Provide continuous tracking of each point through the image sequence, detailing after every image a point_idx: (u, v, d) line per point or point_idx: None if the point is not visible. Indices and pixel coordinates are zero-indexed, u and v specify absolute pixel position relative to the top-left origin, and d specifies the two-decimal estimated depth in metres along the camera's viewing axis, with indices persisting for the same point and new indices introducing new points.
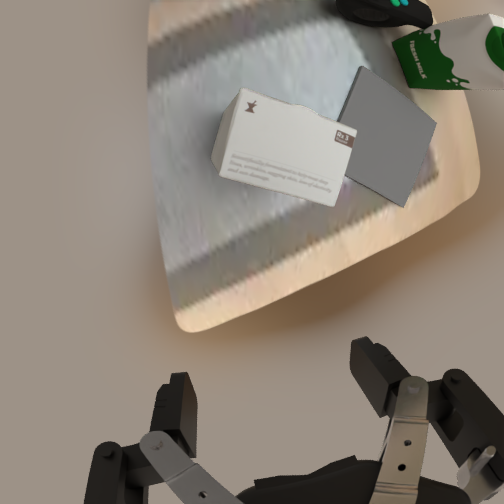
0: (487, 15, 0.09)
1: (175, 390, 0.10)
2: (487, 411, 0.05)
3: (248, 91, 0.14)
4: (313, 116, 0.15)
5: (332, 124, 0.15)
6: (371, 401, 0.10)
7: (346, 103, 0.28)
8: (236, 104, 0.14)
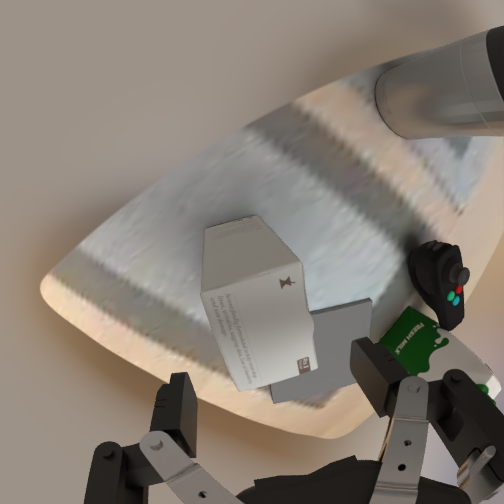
0: (490, 374, 0.17)
1: (175, 390, 0.10)
2: (487, 411, 0.05)
3: (301, 270, 0.14)
4: (308, 334, 0.16)
5: (310, 350, 0.16)
6: (371, 401, 0.10)
7: (329, 310, 0.32)
8: (281, 267, 0.14)
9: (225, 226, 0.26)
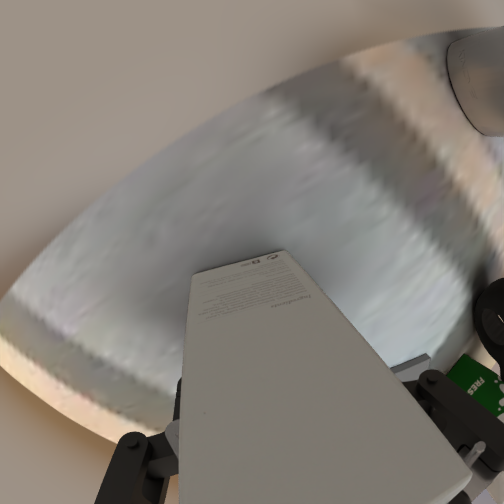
0: None
1: None
2: (470, 408, 0.06)
3: (462, 488, 0.02)
4: None
5: None
6: None
7: None
8: None
9: (229, 276, 0.14)
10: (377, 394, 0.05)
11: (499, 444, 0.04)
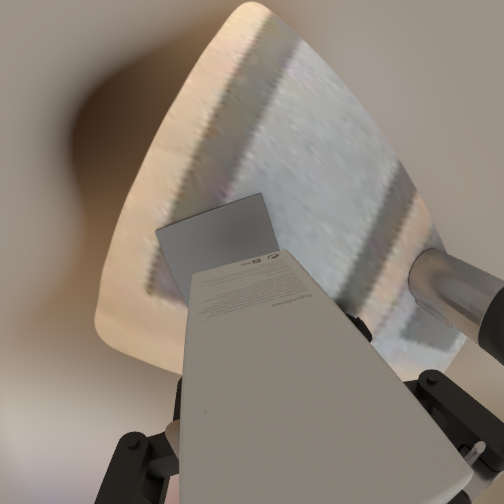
0: None
1: None
2: (470, 408, 0.06)
3: (463, 486, 0.02)
4: None
5: None
6: None
7: None
8: None
9: (229, 275, 0.14)
10: (378, 393, 0.05)
11: (499, 444, 0.04)
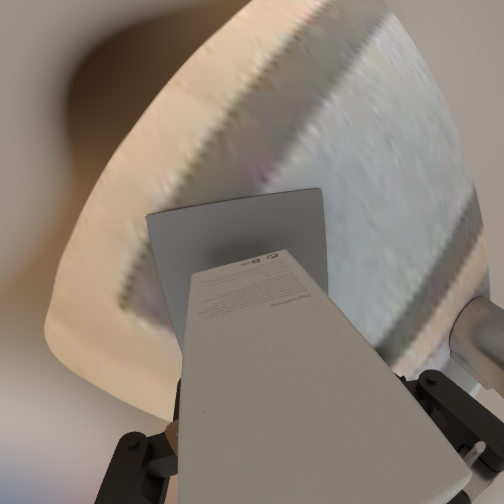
0: None
1: None
2: (470, 408, 0.06)
3: (462, 487, 0.02)
4: None
5: None
6: None
7: None
8: None
9: (228, 275, 0.14)
10: (377, 393, 0.05)
11: (499, 444, 0.04)
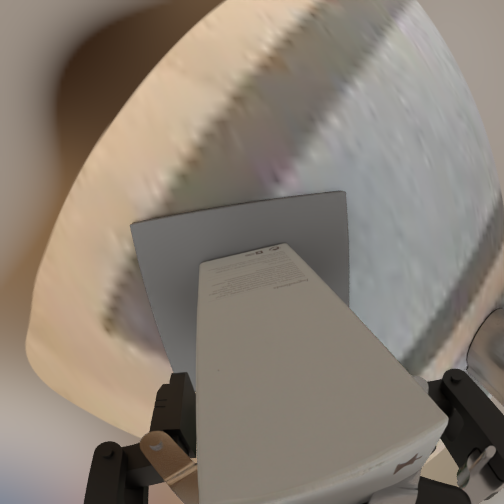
0: None
1: (175, 390, 0.10)
2: (487, 411, 0.05)
3: (441, 434, 0.04)
4: None
5: None
6: None
7: None
8: (409, 443, 0.04)
9: (234, 264, 0.15)
10: (364, 353, 0.07)
11: None
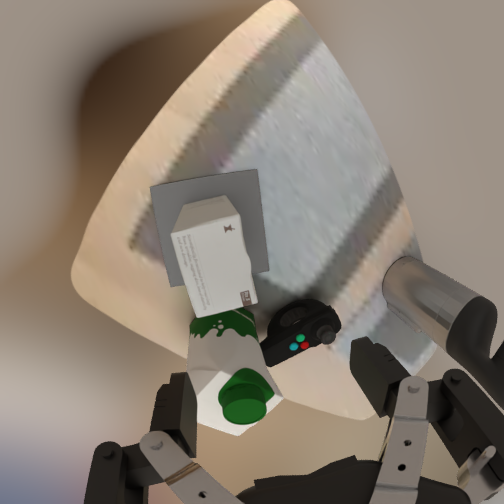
0: (282, 395, 0.25)
1: (175, 390, 0.10)
2: (487, 411, 0.05)
3: (238, 220, 0.21)
4: (246, 270, 0.23)
5: (250, 285, 0.23)
6: (371, 401, 0.10)
7: None
8: (225, 217, 0.21)
9: (198, 202, 0.33)
10: (226, 209, 0.24)
11: None
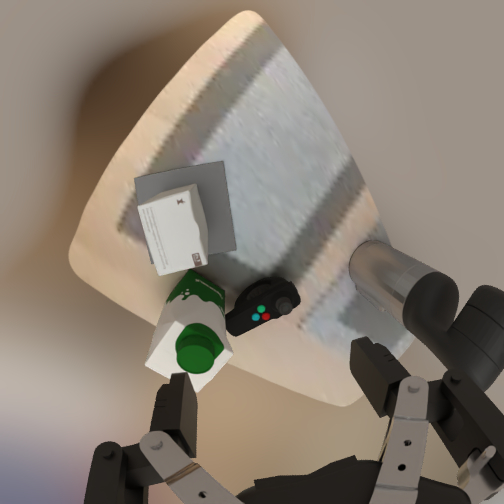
0: (232, 351, 0.30)
1: (175, 390, 0.10)
2: (487, 411, 0.05)
3: (188, 195, 0.27)
4: (196, 236, 0.28)
5: (199, 248, 0.28)
6: (371, 401, 0.10)
7: (230, 213, 0.42)
8: (178, 193, 0.26)
9: (172, 189, 0.38)
10: (184, 189, 0.29)
11: None
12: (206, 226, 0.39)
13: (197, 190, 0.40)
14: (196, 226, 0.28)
